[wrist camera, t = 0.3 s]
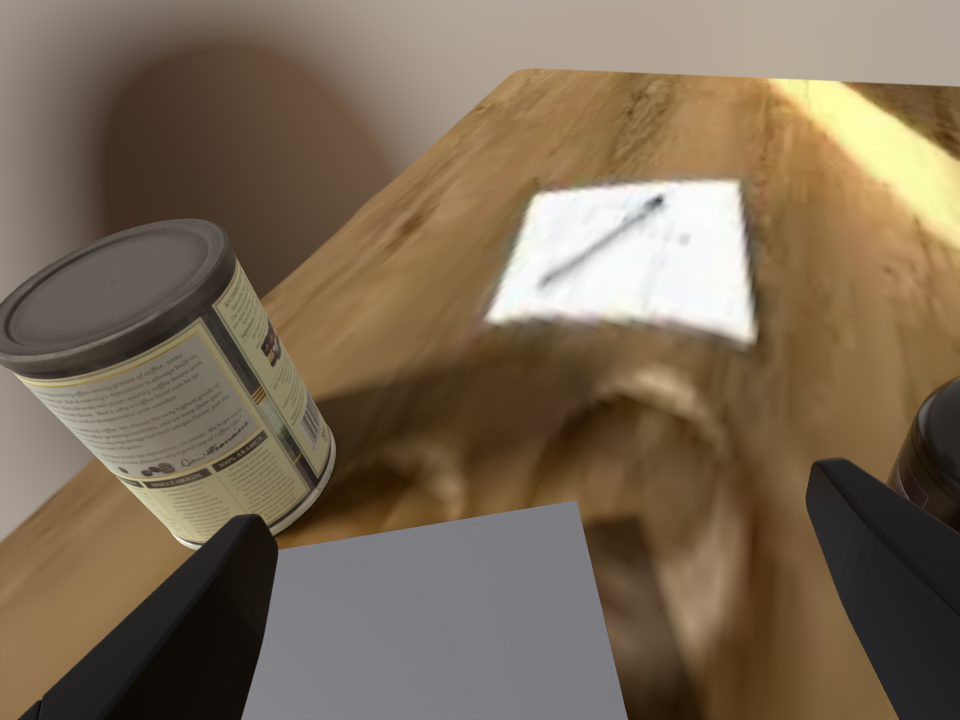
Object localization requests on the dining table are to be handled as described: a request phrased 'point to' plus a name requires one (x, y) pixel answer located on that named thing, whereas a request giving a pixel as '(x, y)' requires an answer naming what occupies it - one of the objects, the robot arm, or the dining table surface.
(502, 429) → the dining table surface
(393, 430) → the dining table surface
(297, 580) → the book
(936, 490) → the supplement bottle
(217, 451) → the coffee can
